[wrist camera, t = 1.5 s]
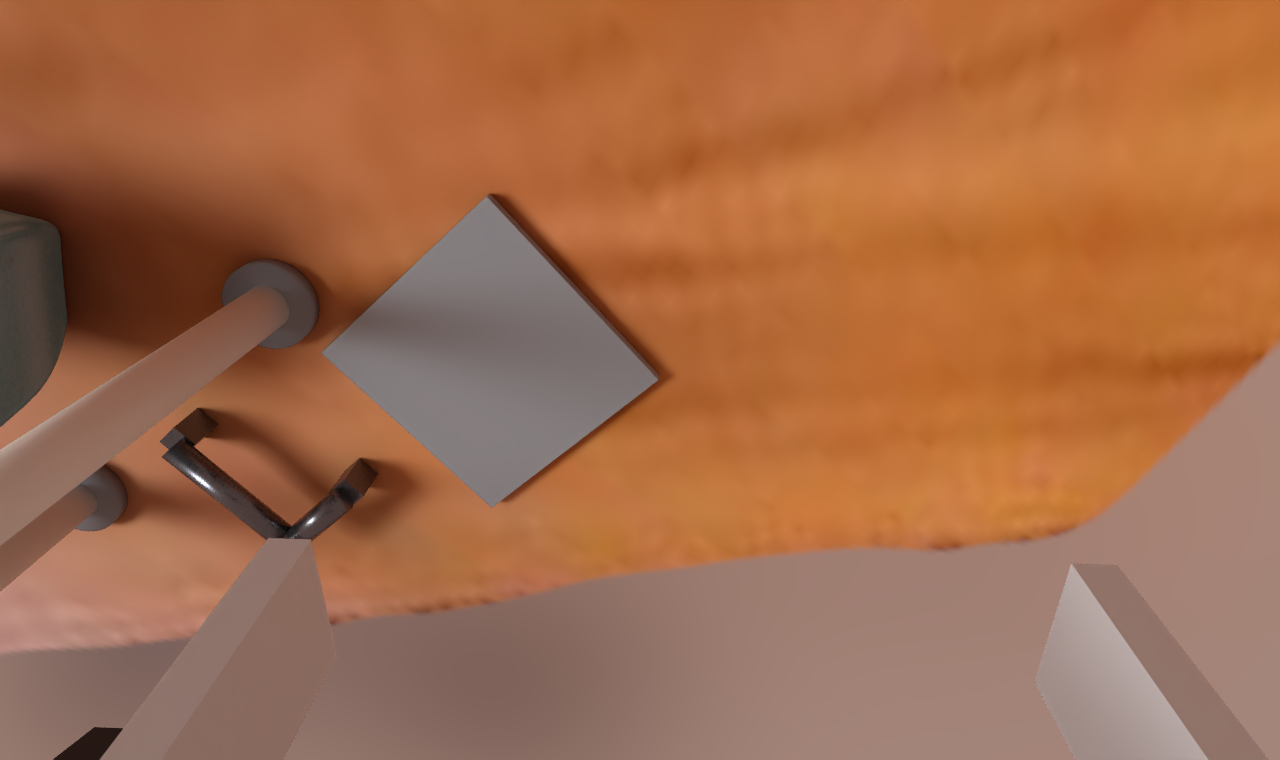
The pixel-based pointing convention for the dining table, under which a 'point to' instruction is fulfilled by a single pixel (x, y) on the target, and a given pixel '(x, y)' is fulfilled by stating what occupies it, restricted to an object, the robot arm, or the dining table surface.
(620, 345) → the tile
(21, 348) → the flower pot
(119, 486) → the post
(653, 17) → the dining table surface
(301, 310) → the post
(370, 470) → the bent rail
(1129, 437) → the dining table surface
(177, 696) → the robot arm
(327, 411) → the dining table surface
